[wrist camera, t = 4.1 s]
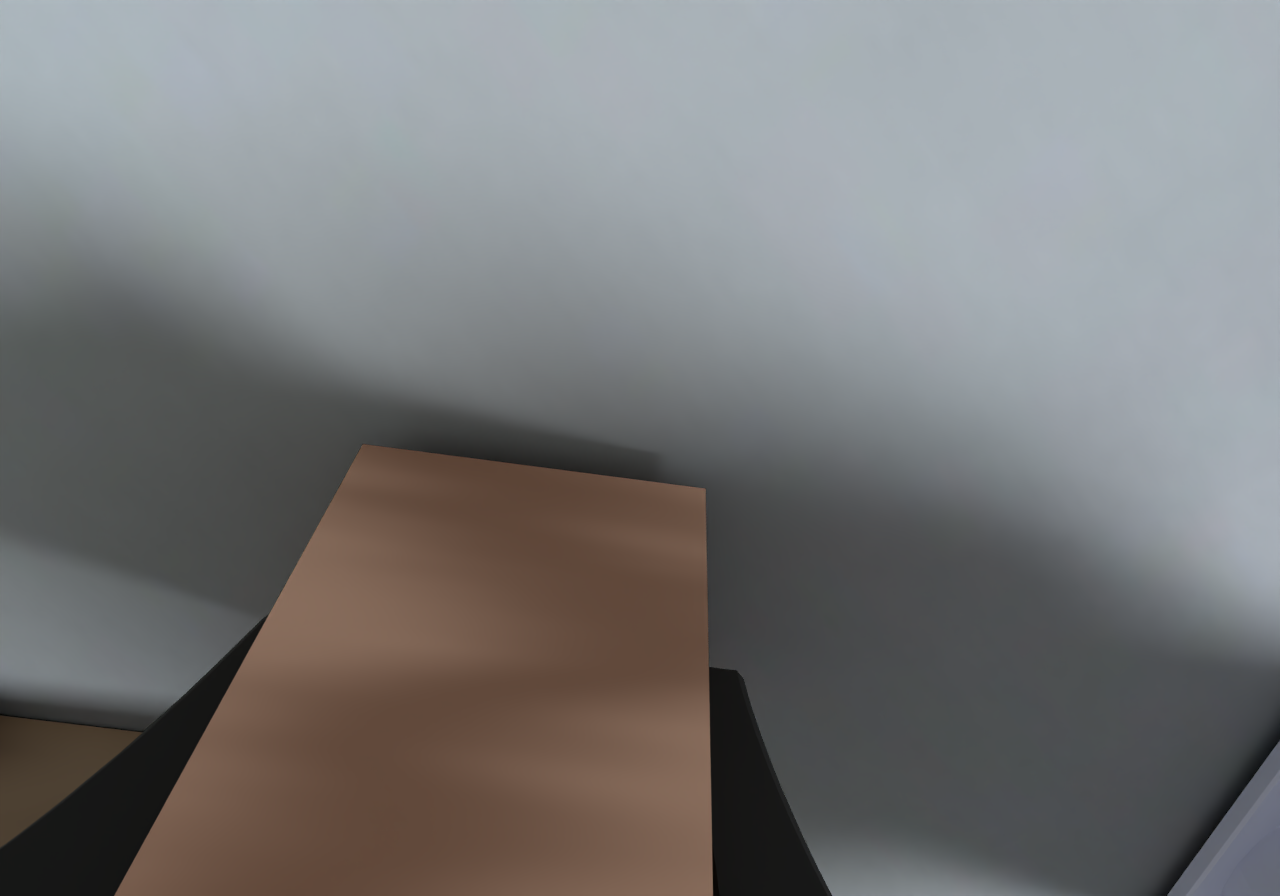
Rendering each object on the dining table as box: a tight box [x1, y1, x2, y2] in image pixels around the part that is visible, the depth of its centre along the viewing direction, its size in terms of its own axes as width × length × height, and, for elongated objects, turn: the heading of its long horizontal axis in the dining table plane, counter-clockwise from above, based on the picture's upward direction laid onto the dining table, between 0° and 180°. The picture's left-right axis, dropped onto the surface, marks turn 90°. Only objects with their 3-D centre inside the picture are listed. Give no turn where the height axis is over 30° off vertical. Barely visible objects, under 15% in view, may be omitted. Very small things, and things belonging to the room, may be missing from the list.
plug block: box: [114, 444, 713, 896], centre depth 11 cm, size 4×4×7 cm
